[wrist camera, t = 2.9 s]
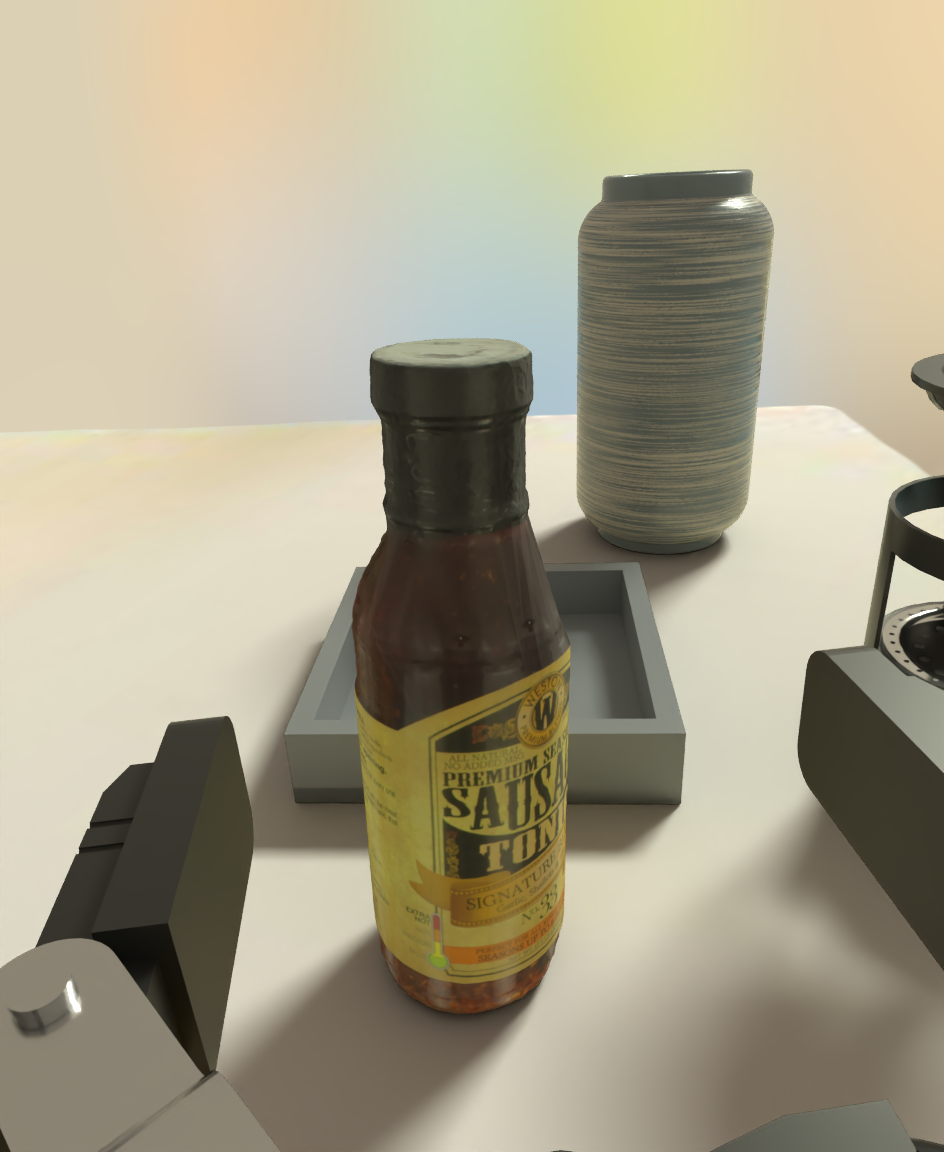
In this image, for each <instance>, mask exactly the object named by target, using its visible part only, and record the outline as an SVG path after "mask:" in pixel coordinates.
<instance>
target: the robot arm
mask: <svg viewBox="0 0 944 1152" xmlns="http://www.w3.org/2000/svg"><path fill="white" fill-rule="evenodd" d="M798 758H799V764H800V768H801V771H802V774H803V777H804V779H805V781H806V783H807V785H808V787H809V788H810V790H811V791H812V793H813V794H814V795H815V797H816V798H817V799H818V801H819V802H820V803H821V805H822V806H823V808H824V809H825V810H826V812H827V813H828V814H829V816H830V817H831V818H832V820H833V821H834V822H835V824H836V825H837V827H838V828H839V829H840V831H841V832H842V833H843V835H844V836H845V837H846V839H847V840H848V841H849V843H850V844H851V846H852V847H853V848H854V850H855V851H856V852H857V854H858V855H859V856H860V858H861V859H862V860H863V862H864V863H865V865H866V866H867V867H868V869H869V870H870V871H871V873H872V874H873V875H874V877H875V878H876V879H877V881H878V882H879V884H880V885H881V886H882V888H883V889H884V890H885V892H886V893H887V894H888V896H889V897H890V898H891V900H892V901H893V903H894V904H895V905H896V907H897V908H898V909H899V911H900V912H901V913H902V915H903V916H904V917H905V919H906V920H907V922H908V923H909V924H910V926H911V927H912V928H913V930H914V931H915V932H916V934H917V935H918V936H919V938H920V939H921V941H922V942H923V943H924V945H925V946H926V947H927V949H928V950H929V951H930V953H931V954H932V955H933V957H934V958H935V960H936V961H937V962H938V964H939V965H940V966H941V968H942V969H943V970H944V691H943V690H941V689H939V688H937V687H935V686H933V685H931V684H929V683H927V682H925V681H923V680H921V679H919V678H917V677H915V676H906V675H905V674H904V673H902V672H901V671H900V670H899V669H898V668H897V667H896V666H895V665H894V664H893V663H891V662H890V661H889V660H888V659H887V658H886V657H885V656H884V655H883V654H881V653H880V652H879V651H878V650H877V649H876V648H874V647H872V646H868V645H865V646H856V647H847V648H839V649H830V650H821V651H815V652H814V653H813V654H812V655H811V656H810V658H809V660H808V664H807V669H806V677H805V685H804V694H803V702H802V710H801V719H800V727H799V735H798ZM252 854H253V821H252V812H251V806H250V802H249V797H248V792H247V788H246V783H245V778H244V774H243V769H242V764H241V760H240V755H239V750H238V746H237V741H236V736H235V732H234V728H233V724H232V722H231V720H230V718H229V717H228V716H223V717H214V718H205V719H196V720H187V721H178V722H171V723H170V724H169V725H168V727H167V729H166V732H165V734H164V737H163V740H162V743H161V745H160V748H159V751H158V753H157V756H156V759H155V761H154V762H153V763H144V764H135V765H130V766H129V767H128V768H127V769H126V770H125V771H124V772H123V773H122V774H121V775H120V776H119V777H118V778H117V779H116V780H115V781H114V782H113V783H112V784H111V785H110V786H109V787H108V788H107V789H106V790H105V791H104V792H103V794H102V796H101V798H100V801H99V803H98V805H97V807H96V810H95V812H94V814H93V817H92V819H91V821H90V829H87V830H86V833H85V835H84V837H83V840H82V842H81V844H80V846H79V854H76V856H75V858H74V860H73V862H72V865H71V867H70V869H69V872H68V874H67V876H66V878H65V881H64V883H63V885H62V888H61V890H60V892H59V895H58V897H57V899H56V901H55V904H54V906H53V908H52V911H51V913H50V915H49V917H48V920H47V922H46V924H45V927H44V929H43V931H42V933H41V936H40V938H39V940H38V943H37V945H36V947H35V948H34V949H31V950H29V951H27V952H25V953H23V954H22V955H20V956H18V957H16V958H15V959H13V960H12V961H10V962H8V963H7V964H6V965H4V966H3V967H2V968H0V1152H280V1150H279V1149H278V1148H277V1146H276V1145H275V1144H274V1142H273V1141H272V1139H271V1138H270V1137H269V1135H268V1134H267V1133H266V1131H265V1130H264V1129H263V1127H262V1126H261V1125H260V1123H259V1122H258V1121H257V1119H256V1118H255V1117H254V1115H253V1114H252V1113H251V1111H250V1110H249V1109H248V1107H247V1106H246V1105H245V1103H244V1102H243V1101H242V1099H241V1098H240V1097H239V1095H238V1094H237V1093H236V1091H235V1090H234V1089H233V1087H232V1086H231V1085H230V1084H229V1082H228V1081H227V1080H226V1079H225V1078H224V1077H223V1076H222V1075H221V1074H220V1073H219V1072H217V1071H215V1070H216V1065H217V1059H218V1053H219V1047H220V1041H221V1035H222V1030H223V1024H224V1018H225V1012H226V1006H227V1000H228V995H229V989H230V983H231V977H232V971H233V965H234V960H235V954H236V948H237V942H238V936H239V931H240V925H241V919H242V913H243V907H244V901H245V896H246V890H247V884H248V878H249V872H250V866H251V861H252ZM553 1152H571V1151H562V1150H559V1151H553ZM710 1152H944V1145H942V1144H937V1143H933V1142H929V1141H924V1140H920V1139H912V1138H909V1136H908V1134H907V1132H906V1131H905V1129H904V1127H903V1125H902V1124H901V1122H900V1120H899V1118H898V1117H897V1115H896V1113H895V1111H894V1110H893V1108H892V1106H891V1104H890V1103H889V1101H888V1100H881V1101H875V1102H868V1103H862V1104H855V1105H849V1106H843V1107H836V1108H830V1109H823V1110H817V1111H810V1112H804V1113H798V1114H791V1115H785V1116H782V1117H780V1118H778V1119H776V1120H774V1121H771V1122H769V1123H767V1124H765V1125H763V1126H761V1127H759V1128H757V1129H755V1130H753V1131H751V1132H749V1133H747V1134H745V1135H743V1136H741V1137H739V1138H737V1139H735V1140H733V1141H731V1142H729V1143H726V1144H724V1145H722V1146H720V1147H718V1148H716V1149H714V1150H712V1151H710Z"/></svg>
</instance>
